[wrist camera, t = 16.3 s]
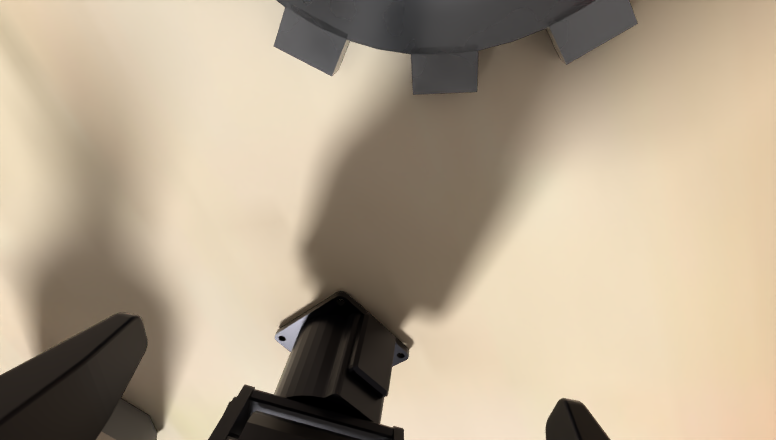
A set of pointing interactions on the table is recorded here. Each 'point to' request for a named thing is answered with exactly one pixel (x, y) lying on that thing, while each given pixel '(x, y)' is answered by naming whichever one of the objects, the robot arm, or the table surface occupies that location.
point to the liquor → (128, 424)
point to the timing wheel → (444, 32)
